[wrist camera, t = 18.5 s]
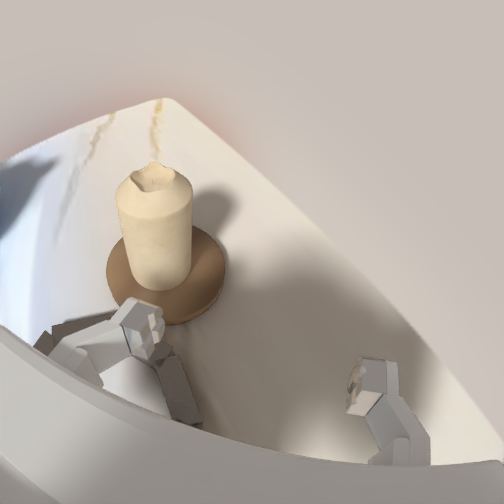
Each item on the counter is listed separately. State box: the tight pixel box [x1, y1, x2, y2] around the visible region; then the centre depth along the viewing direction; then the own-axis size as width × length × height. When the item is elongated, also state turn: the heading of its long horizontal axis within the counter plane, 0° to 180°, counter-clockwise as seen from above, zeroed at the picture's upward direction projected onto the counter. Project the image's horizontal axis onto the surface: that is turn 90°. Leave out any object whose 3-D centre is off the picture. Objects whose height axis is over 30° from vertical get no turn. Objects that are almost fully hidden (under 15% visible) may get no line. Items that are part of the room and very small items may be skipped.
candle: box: [115, 162, 193, 291], centre depth 22 cm, size 6×6×10 cm
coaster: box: [106, 226, 225, 325], centre depth 27 cm, size 11×11×1 cm
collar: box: [33, 314, 202, 430], centre depth 17 cm, size 15×15×2 cm
